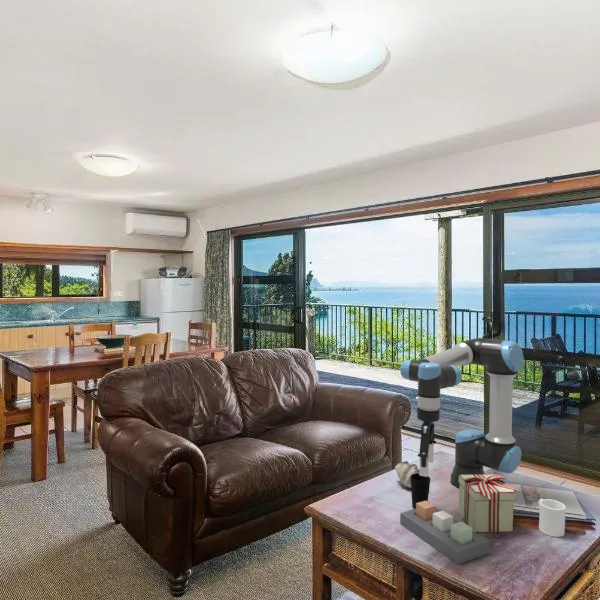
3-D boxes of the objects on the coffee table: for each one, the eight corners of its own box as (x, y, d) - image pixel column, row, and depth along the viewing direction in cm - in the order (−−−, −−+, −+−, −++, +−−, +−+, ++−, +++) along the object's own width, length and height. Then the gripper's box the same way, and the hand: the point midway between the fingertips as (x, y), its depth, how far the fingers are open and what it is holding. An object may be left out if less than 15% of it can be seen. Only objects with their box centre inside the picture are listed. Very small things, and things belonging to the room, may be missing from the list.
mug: (548, 519, 181) (549, 493, 180) (569, 536, 169) (570, 509, 168) (527, 520, 180) (528, 494, 179) (548, 537, 168) (549, 510, 167)
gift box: (479, 539, 167) (481, 490, 166) (454, 513, 185) (455, 469, 184) (524, 535, 169) (526, 487, 168) (495, 510, 188) (496, 466, 187)
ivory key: (442, 524, 170) (443, 510, 170) (452, 530, 166) (453, 516, 166) (432, 527, 168) (432, 513, 168) (442, 534, 164) (442, 519, 164)
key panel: (429, 515, 183) (429, 504, 183) (489, 553, 158) (489, 541, 158) (400, 523, 176) (400, 512, 176) (457, 564, 152) (458, 552, 151)
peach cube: (425, 513, 178) (426, 500, 178) (435, 519, 174) (435, 506, 173) (415, 516, 176) (416, 503, 175) (425, 522, 171) (425, 508, 171)
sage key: (460, 535, 163) (461, 521, 163) (472, 542, 159) (472, 528, 158) (450, 539, 161) (450, 524, 160) (461, 546, 156) (461, 531, 156)
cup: (430, 513, 185) (431, 482, 184) (409, 510, 186) (410, 480, 186) (429, 503, 192) (429, 474, 192) (409, 501, 194) (410, 472, 193)
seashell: (412, 478, 216) (413, 456, 215) (430, 493, 202) (430, 469, 201) (392, 481, 213) (392, 459, 213) (408, 496, 199) (408, 472, 198)
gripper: (422, 398, 180) (420, 455, 180) (411, 415, 157) (409, 480, 157) (443, 401, 177) (441, 458, 178) (435, 418, 154) (433, 484, 155)
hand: (426, 468), depth 168 cm, fingers open, 13 cm apart
